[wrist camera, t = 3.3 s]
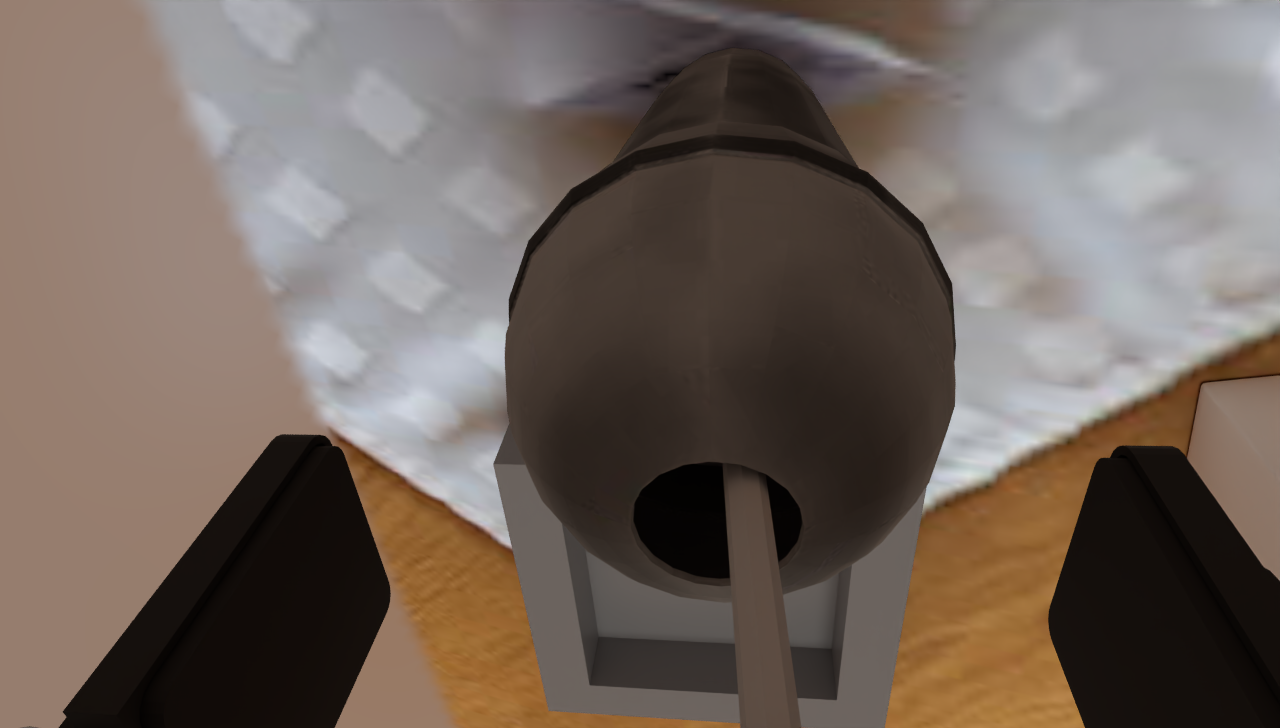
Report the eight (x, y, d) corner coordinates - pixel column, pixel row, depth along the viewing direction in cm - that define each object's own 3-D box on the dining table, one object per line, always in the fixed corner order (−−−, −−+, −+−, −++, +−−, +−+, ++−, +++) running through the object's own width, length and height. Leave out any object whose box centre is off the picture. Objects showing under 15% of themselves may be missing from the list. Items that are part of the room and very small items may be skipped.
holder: (515, 409, 29) (493, 463, 27) (912, 415, 27) (928, 474, 25) (562, 651, 37) (548, 710, 35) (874, 668, 35) (883, 732, 33)
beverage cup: (563, 169, 24) (149, 945, 7) (694, -69, 20) (438, 446, 3) (766, 288, 25) (798, 1159, 9) (925, 88, 21) (1509, 976, 5)
